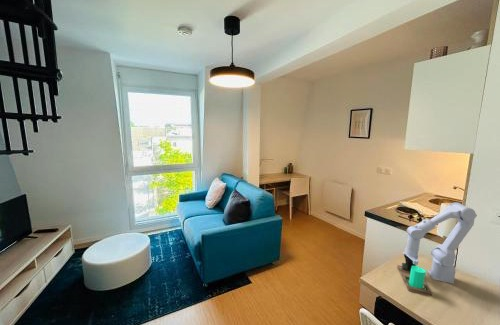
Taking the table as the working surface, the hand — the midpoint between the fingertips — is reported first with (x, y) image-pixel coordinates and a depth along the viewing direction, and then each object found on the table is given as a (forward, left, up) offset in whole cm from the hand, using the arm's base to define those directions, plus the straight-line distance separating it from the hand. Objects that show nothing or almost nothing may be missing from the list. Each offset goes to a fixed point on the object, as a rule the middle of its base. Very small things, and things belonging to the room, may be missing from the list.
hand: (409, 268), depth 123 cm
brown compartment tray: (0, +7, -3) cm, 8 cm away
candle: (0, +12, -3) cm, 13 cm away
